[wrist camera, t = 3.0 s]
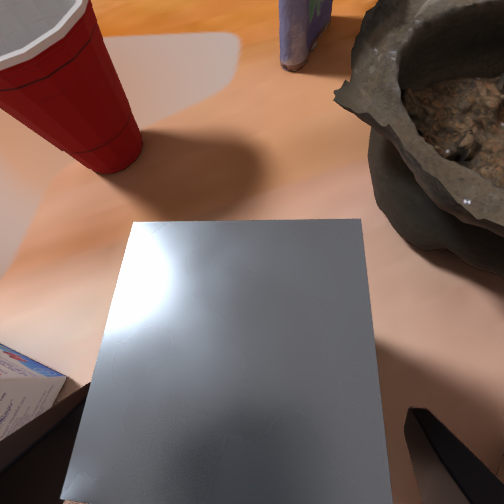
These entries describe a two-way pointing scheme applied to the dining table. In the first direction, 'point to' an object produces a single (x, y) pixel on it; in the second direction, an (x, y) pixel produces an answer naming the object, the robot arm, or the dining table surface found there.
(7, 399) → the medicine box
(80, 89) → the plastic cup
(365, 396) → the slate tin
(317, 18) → the flask
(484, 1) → the stone bowl
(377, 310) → the dining table surface
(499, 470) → the walnut block
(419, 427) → the robot arm
